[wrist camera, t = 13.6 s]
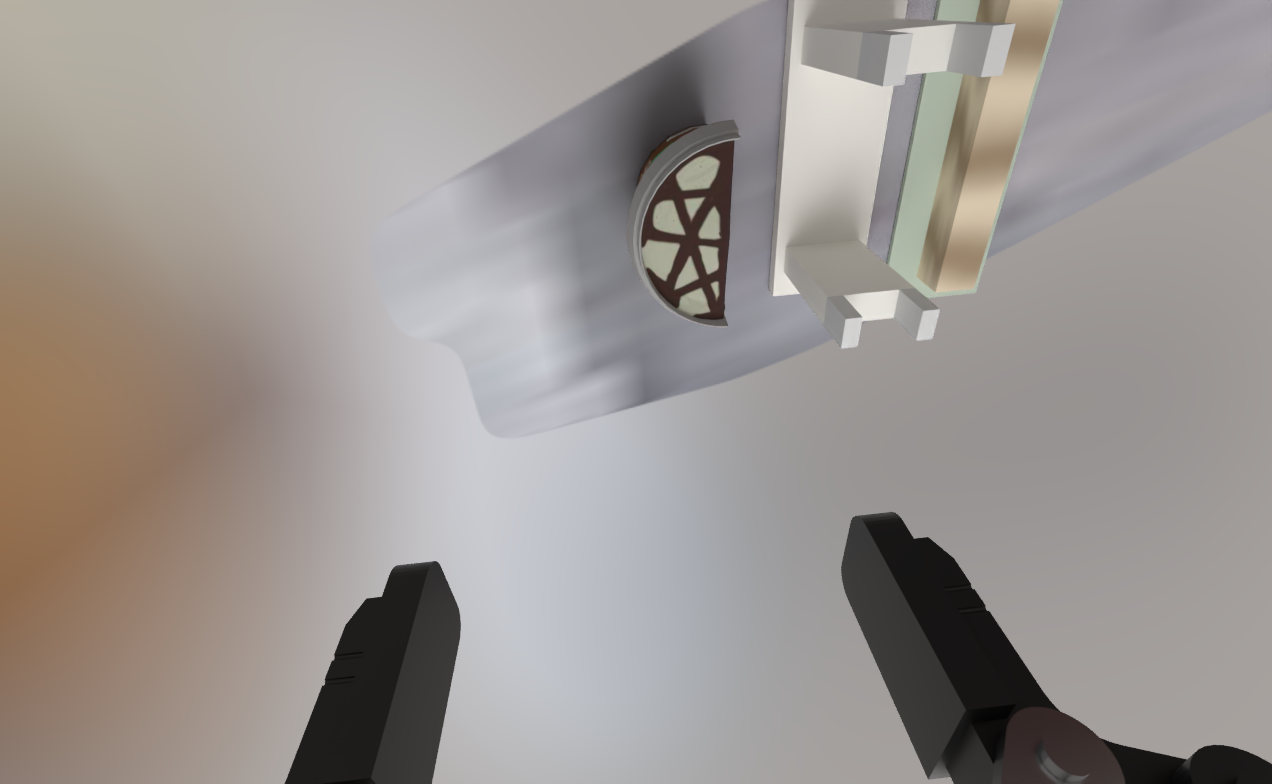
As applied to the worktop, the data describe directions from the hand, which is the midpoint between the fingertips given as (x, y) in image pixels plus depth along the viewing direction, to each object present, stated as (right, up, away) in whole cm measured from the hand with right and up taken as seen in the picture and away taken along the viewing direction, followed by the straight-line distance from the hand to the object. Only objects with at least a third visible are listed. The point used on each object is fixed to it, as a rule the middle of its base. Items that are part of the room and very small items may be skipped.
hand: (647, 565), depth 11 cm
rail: (+23, +21, +29) cm, 43 cm away
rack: (+13, +20, +29) cm, 38 cm away
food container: (+2, +18, +30) cm, 35 cm away
